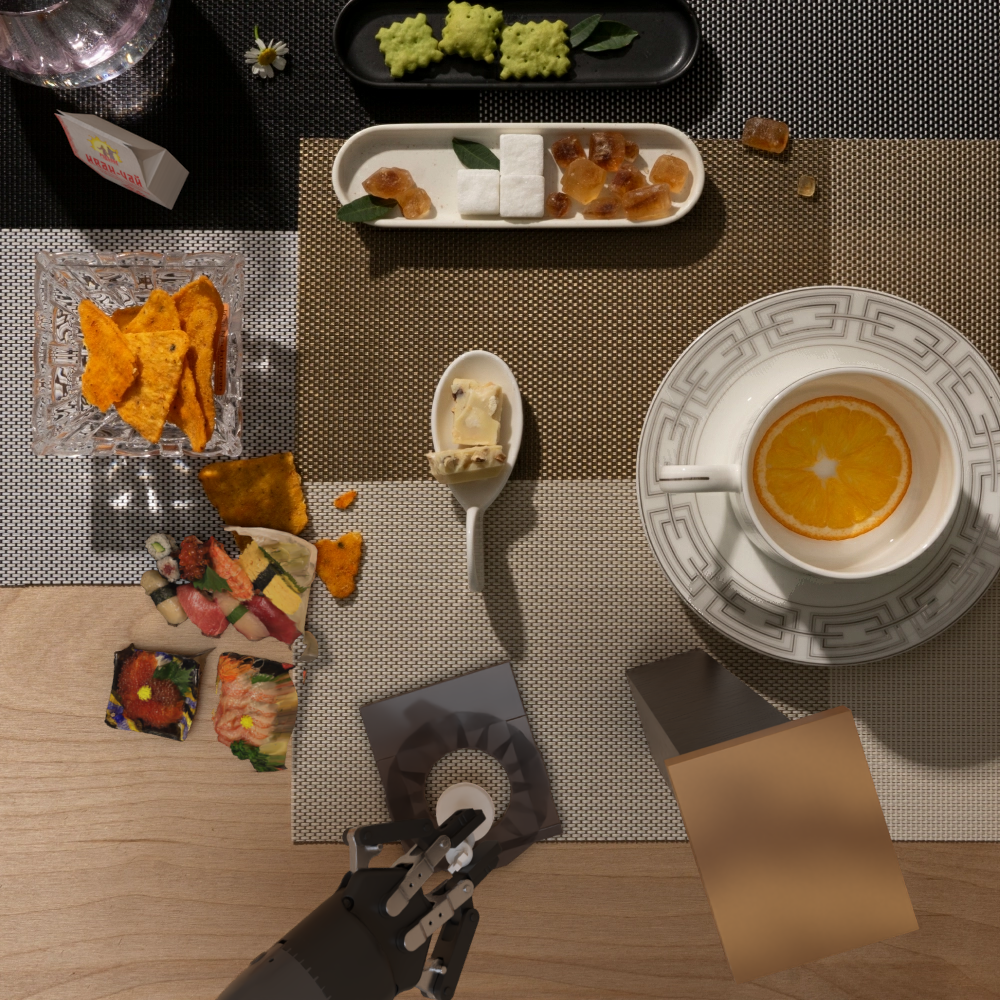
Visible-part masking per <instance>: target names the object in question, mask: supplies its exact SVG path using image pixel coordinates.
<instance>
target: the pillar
mask: <svg viewBox="0 0 1000 1000" xmlns="http://www.w3.org/2000/svg"><path fill="white" fill-rule="evenodd" d="M624 673H625V676H626V679H627V682H628V686H629V689H630V692H631V695H632V699H633V702H634V706H635V708H636V713H637V715H638V717H639V721H640V724H641V728H642V731H643V734H644V738H645V740H646V743H647V746H648V749H649V753H650V756H651V758H652V760H653V762H654V763H655V765H656V767H657V769H658V771H659V773H660V775H661V776H662V778H663V780H664V782H665V784H666V785H667V788H668V789H669V791H670V793H671V794H672V797H673V798H674V800H675V802H676V803H677V801H676V798H675V795H674V792H673V789H672V785H671V782H670V779H669V776H668V773H667V769H666V766H665V763H664V760H666V759H669V758H673V757H676V756H679V755H682V754H686V753H689V752H692V751H695V750H699V749H702V748H705V747H708V746H712V745H715V744H718V743H721V742H725V741H728V740H731V739H734V738H738V737H741V736H744V735H747V734H751V733H754V732H757V731H760V730H764V729H767V728H770V727H773V726H777V725H780V724H783V723H786V722H790V721H792V720H791V719H790V718H789V717H788V716H787V715H785V714H784V713H783V712H781V711H780V710H779V709H778V708H776V706H774V705H772V703H770V702H769V701H768V700H766V699H765V698H764V697H763V696H761V695H760V694H759V693H758V692H756V691H755V690H754V689H753V688H752V687H750V686H749V685H747V684H746V683H745V682H744V681H743V680H741V679H740V678H739V677H737V676H736V674H734V673H733V672H732V671H730V670H729V669H727V668H726V667H725V666H723V665H722V664H721V663H720V662H718V660H716V659H715V658H714V657H713V656H711V655H710V654H709V653H707V652H706V651H705V650H703V648H701V647H696V648H693V649H690V650H686V651H683V652H680V653H676V654H674V655H671V656H667V657H664V658H661V659H659V660H655V661H651V662H647V663H645V664H642V665H638V666H635V667H632V668H629V669H626V670H624Z"/></svg>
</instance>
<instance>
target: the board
mask: <svg viewBox="0 0 1000 1000" xmlns="http://www.w3.org/2000/svg"><path fill="white" fill-rule="evenodd" d="M358 710H359V713H360V717H361V719H362V723H363V726H364V730H365V732H366V736H367V739H368V741H369V742H368V743H369V745H370V748H371V752H372V755H373V759H374V761H375V765H376V768H377V771H378V775H379V777H380V781H381V784H382V787H383V790H384V793H385V798H384V802H385V805H386V808H387V811H388V815H389V818H390V822H393V821H400V820H408V819H413V820H416V819H424V818H428V819H430V820H431V821H432V823H433V826H434V828H435V829H436V828H438V827H439V825H438V822H437V818H436V815H435V814H434V812H432V810H431V808H430V806H429V802H428V799H427V796H426V788H427V779H428V776H429V775H430V772H431V770H432V769H433V767H434V765H435V764H436V763H438V761H440V760H441V759H442V758H444V757H445V756H446V755H447V754H451V753H453V752H457V751H460V750H473V751H481V752H482V753H485V754H486V755H488V756H490V757H492V758H494V759H495V760H496V761H497V763H499V765H500V766H501V767H502V769H504V771H505V772H506V775H507V779H508V781H509V782H508V783H509V786H510V794H509V802H508V805H507V806H506V808H505V810H504V811H503V814H502V816H501V817H500V818H498V819H497V820H496V821H495V822H493V823H492V825H491V827H490V829H489V831H488V832H487V833H486V834H485V835H484V836H483V837H482V838H481V839H479V840H477V841H475V844H474V846H473V848H472V851H473V850H474V849H475V848H476V847H477V846H478V845H479V844H480V843H482V842H484V841H491V840H497V841H498V842H499V844H500V846H501V848H502V851H501V853H500V854H499V855H498V858H499V861H498V864H497V866H496V867H495V868H494V869H493V870H496V869H500V868H504V867H507V866H508V865H510V864H511V863H512V862H513V861H514V860H516V859H517V858H518V857H519V856H520V855H522V854H523V853H524V852H526V851H527V850H528V849H529V848H531V846H533V845H534V843H537V842H540V841H543V840H546V839H547V840H548V839H550V838H554V837H557V836H559V835H563V834H564V830H563V829H564V828H563V826H562V823H561V820H560V816H559V813H558V810H557V807H556V803H555V800H554V797H553V794H552V791H551V779H550V777H549V773H548V769H547V767H546V764H545V763H546V762H545V761H544V757H543V754H542V751H541V749H540V747H538V745H537V743H536V740H535V736H534V733H533V731H532V727H531V724H530V720H529V717H528V714H527V711H526V708H525V705H524V701H523V698H522V696H521V692H520V689H519V686H518V682H517V679H516V676H515V673H514V670H513V667H512V663H511V660H510V659H506V660H503V661H499V662H497V663H494V664H490V665H486V666H483V667H481V668H480V667H479V668H478V669H474V670H471V671H468V672H465V673H461V674H459V675H454V676H452V677H448V678H446V679H441V680H439V681H436V682H433V683H432V682H431V683H429V684H426V685H423V686H420V687H416V688H413V689H410V690H406V691H404V692H400V693H397V694H394V695H390V696H387V697H384V698H380V699H378V700H374V701H371V702H368V703H364V704H362V705H359V707H358ZM400 844H401V848H402V851H403V855H405V854H406V853H408V851H409V850H410V849H411V848H412V847H413V846H414V845H415V844H416V843H415V842H414V841H412V840H411V839H408V840H401V841H400ZM449 865H450V864H449V863H448V861H447V859H446V855H445V856H444V857H443V858H442V859H441V860H440V861H439V862H438V863H437V865H436V866H435V867H434V872H433V874H436V873H440V872H445V873H450V872H449V871H448V867H449Z"/></svg>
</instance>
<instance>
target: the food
mask: <svg viewBox="0 0 1000 1000" xmlns="http://www.w3.org/2000/svg"><path fill="white" fill-rule="evenodd" d="M217 526H218V527H220V528H223V530H224V531H227V532H234V531H235V532H236V533H237V534H238V535H239V536H247V537H248V536H249V537H251V540H252V541H251V542H250V543H251V544H249V543H247V544H246V547H245V548H244V550H243V553H242V554H241V553H240V554H239V555H238V558H235V559H232V558H231V557H230V556H229V555H228V554H227V552H226V551H227V550H225V544H224V543H223V542H220V541H219V540H217V539H216V537H214V536H213V535H210V537H209V539H208V540H206V541H205V540H204V541H201V539H199V538H198V537H197V536H196V535H195V534H192V535H189V536H188V535H187V536H184V537H183V540H181V542H180V544H179V546H178V545H176V543H177V542H176V539H175V538H174V537H173V536H172V535H171V534H166V533H164V532H155V533H152V534H150V535H149V537H147V539H145V540H144V542H145V544H144V548H145V550H147V553H148V554H149V555H150V557H151V558H152V559H153V560H154V561H155V565H156V569H150V570H147V571H144V572H143V573H142V576H141V577H140V580H139V584H140V586H141V587H142V588H143V589H144V590H145V593H144V595H146V596H148V597H150V599H151V600H152V602H153V604H154V606H155V608H156V610H158V613H160V614H161V616H162V617H163V618H164V620H165V621H166V623H167V625H168V626H170V627H174V628H177V627H178V626H179V625H180V624H182V623H184V622H186V621H187V620H188V619H189V620H190V621H191V623H192V624H193V625H195V626H196V627H197V628H198V629H199V630H200V634H201V635H202V636H203V637H206V638H210V639H211V640H212V639H213V640H215V639H218V640H219V639H221V638H222V637H221V636H222V634H223V632H224V631H225V630H227V628H228V626H229V624H231V625H232V626H233V628H235V630H236V632H238V633H240V634H241V635H243V637H245V639H246V640H247V641H248V642H260V641H263V640H264V639H267V638H275V639H276V640H277V641H278V642H280V643H281V642H282V643H284V644H286V645H287V646H288V649H289V651H290V652H291V651H292V645H293V644H294V643H295V641H296V640H297V639H298V638H299V637H300V636H301V635H303V637H302V645H306V647H305V649H304V650H303V653H302V654H301V655H300V656H299V658H298V659H297V660H296V662H302V663H303V662H305V663H306V664H309V663H312V662H314V661H316V660H317V658H318V656H319V643H318V640H317V638H316V637H315V636H314V635H313V633H312V632H311V631H310V630H305V626H306V625H305V624H306V618H307V613H308V606H309V599H310V593H311V587H312V583H313V582H314V581H315V577H316V569H317V561H318V549H317V547H316V545H315V544H313V543H311V542H310V541H307V540H305V539H304V538H302V537H300V536H297V535H295V534H292V533H290V532H287V531H283V530H278V529H273V528H267V527H241V526H239V525H226V524H225V525H224V524H217ZM181 580H183V581H186V582H187V583H183V584H177V582H178V581H181ZM261 592H262V594H263V595H260V593H261ZM133 644H134V643H133V642H131V643H130V644H129V645H128V646H127V647H125V648H123V649H121V650H116V651H114V652H113V654H114V656H113V661H112V662H113V676H112V682H111V689H110V694H109V698H108V702H107V707H106V709H105V718H104V721H103V722H104V723H105V725H106V726H107V727H108V728H111V729H113V730H120V731H129V732H136V733H144V734H148V735H153V736H157V737H161V738H165V739H168V740H169V739H170V740H174V741H178V742H181V743H182V742H183V743H184V742H185V741H186V739H187V738H188V734H189V732H190V730H191V728H192V725H193V721H194V718H195V717H196V712H197V710H198V708H197V704H198V697H199V687H200V683H201V676H202V675H203V674H204V668H205V666H206V665H205V664H207V663H206V662H207V658H208V656H209V655H211V653H212V652H213V651H214V650H216V647H213V648H211V649H207V650H204V651H201V652H198V653H195V654H191V655H190V654H180V653H179V654H178V653H169V652H164V651H151V650H150V651H149V650H148V651H147V650H143V649H136V648H135V646H134V645H133ZM296 668H297V665H296V664H293V663H288V662H283V661H282V662H281V661H277V660H273V659H269V658H266V657H259V656H258V657H257V656H253V655H247V654H241V653H238V652H234V651H224V652H221V654H219V658H218V662H217V665H216V676H215V686H214V687H215V688H216V689H215V696H216V695H217V694H218V689H219V685H220V682H221V686H220V694H219V698H218V701H219V702H218V704H217V706H216V711H215V707H214V708H212V711H211V712H210V714H211V715H212V716H211V717H210V718H211V721H212V722H213V730H214V732H215V733H216V734H217V742H219V743H220V744H223V745H225V746H226V747H228V748H229V749H230V751H231V753H232V755H233V756H234V757H237V759H238V760H240V761H245V760H246V761H247V760H249V763H250V764H251V765H252V768H253V769H254V770H256V773H272V772H280V771H285V770H288V769H289V768H288V767H287V766H286V759H287V754H288V753H287V752H288V744H289V742H290V739H291V737H292V734H293V732H294V729H295V726H296V722H297V715H298V712H299V711H298V709H299V697H298V692H297V689H296V686H295V683H294V682H293V679H292V677H291V674H290V670H294V669H296ZM302 675H303V676H302V679H303V680H302V686H304V685H305V683H306V680H307V676H308V669H307V668H306V667H305V666H303V671H302ZM112 714H114V716H112Z"/></svg>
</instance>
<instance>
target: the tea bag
mask: <svg viewBox="0 0 1000 1000" xmlns="http://www.w3.org/2000/svg"><path fill="white" fill-rule="evenodd" d="M56 111H58V112H59V113H60V114H58V113H54V114H53V115H55V117H56V118H57V120H58V121H59V124H61V125H60V126H62V128H63V130H64V133H65V135H66V137H67V140H68V142H69V145H70V147H71V149H72V152H73V154H74V156H76V157H77V158H78V159H79V160H81V161H82V162H83V163H85V164H86V165H87V166H88V167H89V168H90V169H92V170H93V171H95V172H96V174H98V175H100V176H101V177H102V178H104V179H106V180H108V181H110V182H112V183H115V184H117V185H118V186H121V187H123V188H125V189H127V190H128V191H131V192H133V193H135V194H137V195H138V196H139V195H140V196H142V197H144V198H145V199H148V200H149V201H152V202H154V203H156V204H158V205H161V206H163V207H165V208H166V209H169V210H172V209H174V205H175V203H176V201H177V200H178V197H179V195H180V192H181V190H182V189H183V186H184V184H185V182H186V181H187V178H188V176H189V174H190V172H189V171H188V169H186V167H184V166H183V165H182V164H181V163H180V162H179V160H178V159H177V158H176V157H175V156H174V155H172V154H171V153H170V152H169V150H167V149H166V148H165V147H162V146H161V145H158V144H156V143H154V142H152V141H150V140H148V139H145V138H144V137H142V136H139V135H137V134H136V133H134V132H131V131H129V130H126V129H125V128H122V127H120V126H118V125H117V124H114V123H112V122H110V121H108V120H106V119H105V118H101V117H99V116H97V115H95V114H88V113H87V114H86V113H71V112H65V111H61V110H59V109H56Z"/></svg>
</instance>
